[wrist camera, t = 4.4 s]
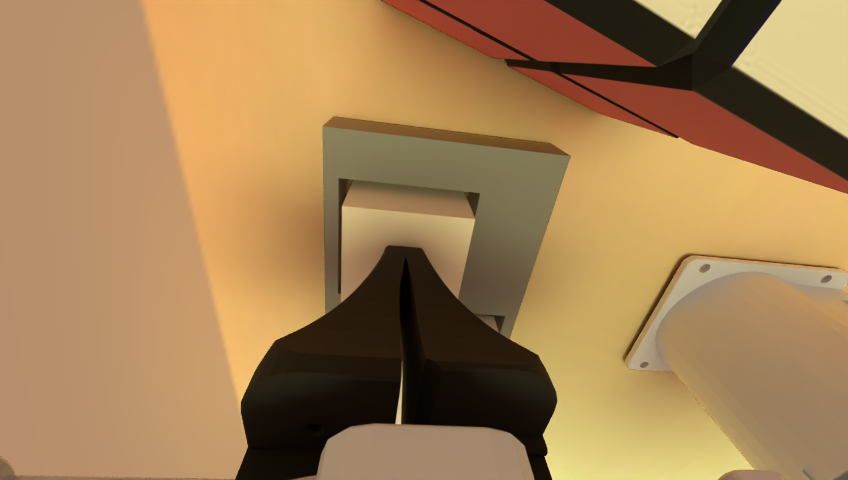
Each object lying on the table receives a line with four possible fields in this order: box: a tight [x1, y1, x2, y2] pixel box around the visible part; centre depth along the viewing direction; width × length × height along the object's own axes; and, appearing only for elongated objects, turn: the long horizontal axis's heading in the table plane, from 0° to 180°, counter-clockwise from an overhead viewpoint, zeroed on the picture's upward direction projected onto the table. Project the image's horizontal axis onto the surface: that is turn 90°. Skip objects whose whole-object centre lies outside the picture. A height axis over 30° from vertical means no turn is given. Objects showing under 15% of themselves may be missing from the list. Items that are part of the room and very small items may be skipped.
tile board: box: [323, 117, 571, 339], centre depth 18 cm, size 9×21×2 cm, turn 173°
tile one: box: [341, 180, 475, 302], centre depth 14 cm, size 5×5×3 cm
